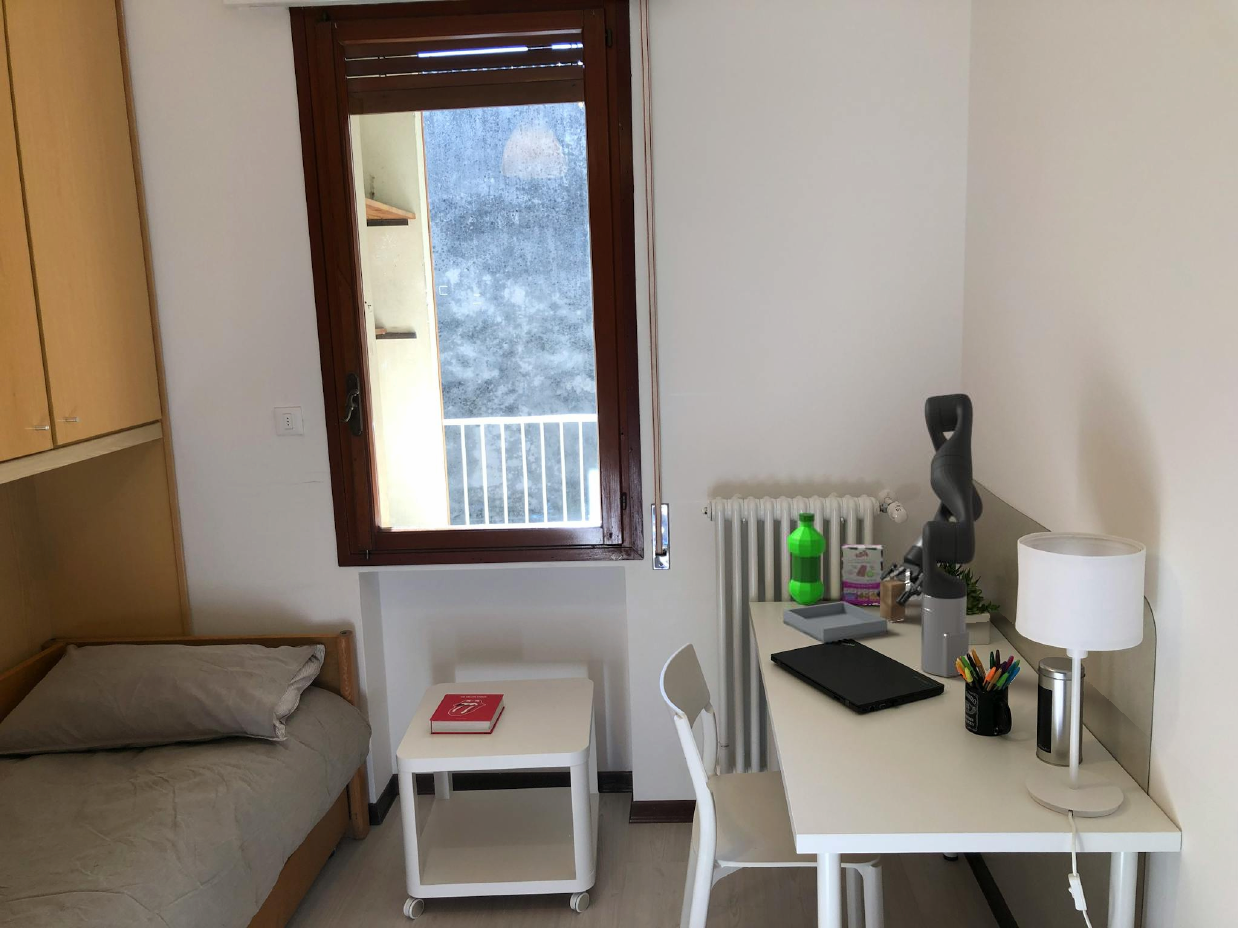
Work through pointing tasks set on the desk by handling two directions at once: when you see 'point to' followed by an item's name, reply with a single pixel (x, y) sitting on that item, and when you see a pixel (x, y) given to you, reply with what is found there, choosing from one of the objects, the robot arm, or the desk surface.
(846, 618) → the box
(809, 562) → the plastic bottle
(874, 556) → the candy bar box
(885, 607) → the walnut block
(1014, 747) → the desk surface
